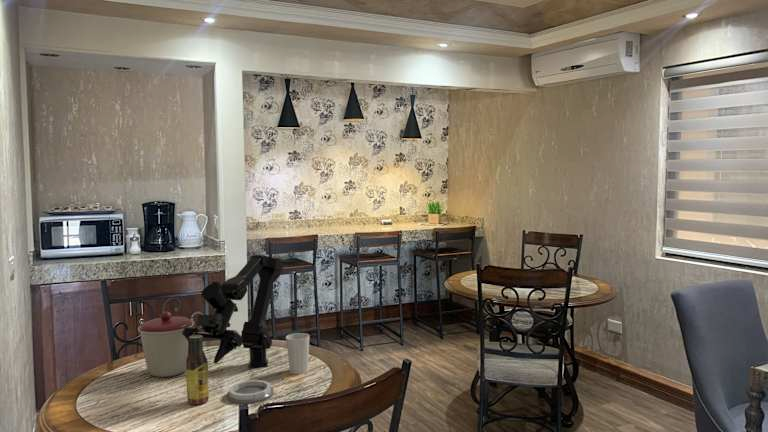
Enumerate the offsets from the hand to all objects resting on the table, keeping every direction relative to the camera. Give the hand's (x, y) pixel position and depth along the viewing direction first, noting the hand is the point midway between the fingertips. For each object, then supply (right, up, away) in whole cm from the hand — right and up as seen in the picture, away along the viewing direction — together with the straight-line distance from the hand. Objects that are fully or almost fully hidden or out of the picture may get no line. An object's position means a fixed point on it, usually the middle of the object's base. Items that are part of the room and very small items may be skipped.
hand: (201, 361), depth 179 cm
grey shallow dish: (+14, -11, +3) cm, 18 cm away
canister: (-19, -10, +25) cm, 33 cm away
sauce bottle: (0, -12, -1) cm, 12 cm away
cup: (+26, -9, +23) cm, 36 cm away
